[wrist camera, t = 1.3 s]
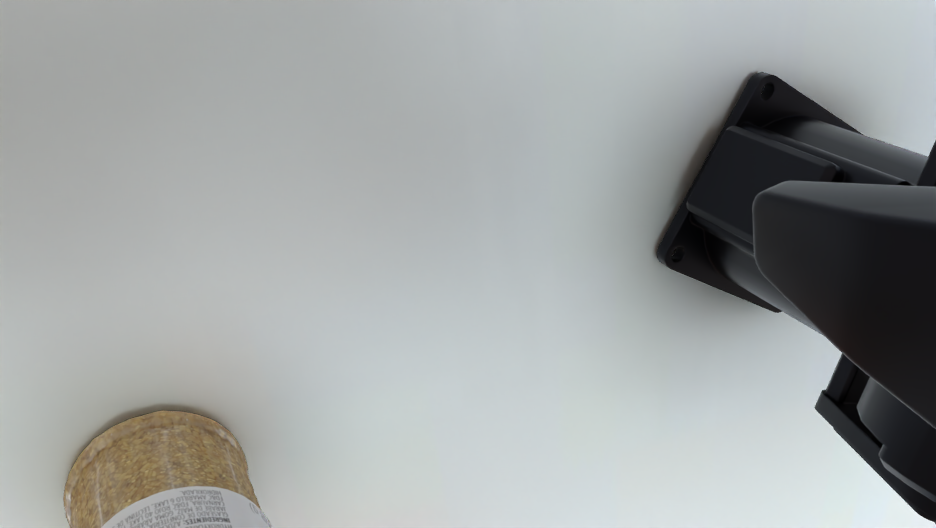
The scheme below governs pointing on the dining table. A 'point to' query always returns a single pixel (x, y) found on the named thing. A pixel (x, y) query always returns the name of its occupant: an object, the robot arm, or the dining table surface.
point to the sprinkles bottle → (162, 477)
